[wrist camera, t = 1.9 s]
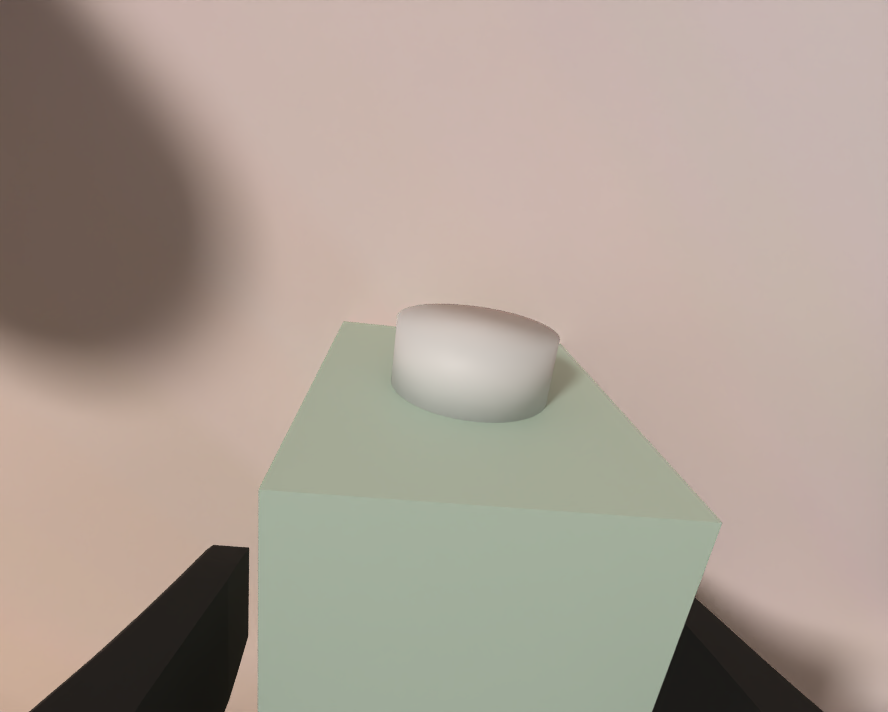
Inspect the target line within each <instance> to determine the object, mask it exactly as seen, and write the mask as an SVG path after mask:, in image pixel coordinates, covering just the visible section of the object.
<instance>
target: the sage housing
mask: <svg viewBox="0 0 888 712" xmlns="http://www.w3.org/2000/svg"><path fill="white" fill-rule="evenodd" d="M559 341H560V338H559V335H558V334H557V333H556V332H555V331H554V330H552V329H551V328H549V327H548V326H546V325H544V324H542V323H540V322H537V321H535V320H532V319H530V318H526V317H523V316H520V315H517V314H513V313H509V312H505V311H500V310H495V309H490V308H484V307H477V306H469V305H458V304H425V305H417V306H412V307H408V308H406V309H403V310H402V311H400V312H399V313H398V316H397V324H396V327H394V326H384V325H375V324H365V323H356V322H346V321H344V322H343V324H342V326H341V328H340V330H339V332H338V334H337V335H336V337H335V339H334V341H333V343H332V345H331V347H330V349H329V351H328V353H327V355H326V357H325V359H324V361H323V363H322V365H321V367H320V369H319V371H318V373H317V375H316V377H315V379H314V381H313V383H312V385H311V387H310V389H309V391H308V393H307V395H306V397H305V399H304V401H303V403H302V405H301V407H300V409H299V411H298V413H297V415H296V417H295V419H294V421H293V423H292V425H291V427H290V429H289V430H288V432H287V434H286V436H285V438H284V440H283V442H282V444H281V446H280V448H279V450H278V452H277V454H276V456H275V458H274V460H273V462H272V464H271V466H270V468H269V470H268V472H267V474H266V476H265V478H264V480H263V482H262V484H261V486H260V488H259V509H258V712H652V710H653V708H654V705H655V702H656V700H657V697H658V694H659V692H660V689H661V686H662V683H663V681H664V678H665V675H666V673H667V670H668V667H669V665H670V662H671V659H672V657H673V654H674V651H675V648H676V646H677V643H678V640H679V638H680V635H681V632H682V630H683V627H684V624H685V622H686V619H687V616H688V614H689V611H690V608H691V605H692V603H693V600H694V597H695V595H696V592H697V589H698V587H699V584H700V581H701V579H702V576H703V573H704V570H705V568H706V565H707V562H708V560H709V557H710V554H711V552H712V549H713V546H714V544H715V541H716V538H717V536H718V533H719V530H720V527H721V525H722V522H721V521H720V520H719V519H718V518H717V516H716V515H715V514H714V513H713V512H712V511H711V510H710V509H709V508H708V507H707V505H706V504H705V503H704V502H703V501H702V500H701V499H700V498H699V497H698V495H697V494H696V493H695V492H694V491H693V490H692V489H691V488H690V487H689V486H688V484H687V483H686V482H685V481H684V480H683V479H682V478H681V477H680V476H679V474H678V473H677V472H676V471H675V470H674V469H673V468H672V467H671V466H670V465H669V463H668V462H667V461H666V460H665V459H664V458H663V457H662V456H661V455H660V453H659V452H658V451H657V450H656V449H655V448H654V447H653V446H652V445H651V444H650V442H649V441H648V440H647V439H646V438H645V437H644V436H643V435H642V434H641V433H640V431H639V430H638V429H637V428H636V427H635V426H634V425H633V424H632V423H631V421H630V420H629V419H628V418H627V417H626V416H625V415H624V414H623V413H622V412H621V410H620V409H619V408H618V407H617V406H616V405H615V404H614V403H613V402H612V400H611V399H610V398H609V397H608V396H607V395H606V394H605V393H604V392H603V391H602V389H601V388H600V387H599V386H598V385H597V384H596V383H595V382H594V381H593V379H592V378H591V377H590V376H589V375H588V374H587V373H586V372H585V371H584V370H583V368H582V367H581V366H580V365H579V364H578V363H577V362H576V361H575V360H574V358H573V357H572V356H571V355H570V354H569V353H568V352H567V351H566V350H565V349H564V347H563V346H562V345H561V344H559Z"/></svg>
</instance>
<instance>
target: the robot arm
mask: <svg viewBox="0 0 888 712" xmlns="http://www.w3.org/2000/svg"><path fill="white" fill-rule="evenodd" d="M248 605H249V548H247V547H233V546H219V545H213V546H211V547H210V548H209V549H207V550H206V551H205V552H204V553H203V554H202V555H201V556H200V557H199V558H198V559H197V560H196V561H195V562H194V563H193V564H192V565H191V566H190V567H189V568H188V569H187V570H186V571H185V572H184V573H183V574H182V575H181V576H180V577H179V578H178V579H177V580H176V581H175V582H174V583H173V584H172V585H170V586H169V587H168V588H167V589H166V590H165V591H164V592H163V593H162V594H161V595H160V596H159V597H158V598H157V599H156V600H155V601H154V602H153V603H152V604H151V605H150V606H149V607H148V608H146V609H145V610H144V611H143V612H142V613H141V614H140V615H139V616H138V617H137V618H136V619H135V620H133V621H132V622H131V623H130V624H129V625H128V626H127V627H126V628H125V629H124V630H123V631H121V632H120V633H119V634H118V635H117V636H116V637H115V638H114V639H113V640H112V641H111V642H109V643H108V644H107V645H106V646H105V647H104V648H103V649H102V650H101V651H100V652H98V653H97V654H96V655H95V656H94V657H93V658H92V659H91V660H89V661H88V662H87V663H86V664H85V665H84V666H82V667H81V668H80V669H79V670H78V671H77V672H75V673H74V674H73V675H72V676H71V677H69V678H68V679H67V680H66V681H65V682H64V683H62V684H61V685H60V686H59V687H58V688H57V689H55V690H54V691H53V692H52V693H51V694H50V695H48V696H47V697H46V698H45V699H44V700H42V701H41V702H40V703H39V704H38V705H37V706H35V707H34V708H33V709H32V710H31V711H29V712H224V711H225V709H226V706H227V704H228V701H229V698H230V695H231V692H232V689H233V685H234V682H235V679H236V676H237V672H238V669H239V666H240V662H241V659H242V655H243V652H244V649H245V645H246V642H247V638H248ZM652 712H823V711H822V710H821V709H819V708H818V707H817V706H816V705H815V704H814V703H812V702H811V701H810V700H809V699H808V698H807V697H805V696H804V695H803V694H802V693H801V692H800V691H799V690H797V689H796V688H795V687H794V686H793V685H792V684H791V683H789V682H788V681H787V680H786V679H785V678H784V677H783V676H781V675H780V674H779V673H778V672H777V671H776V670H775V669H774V668H772V667H771V666H770V665H769V664H768V663H767V662H766V661H765V660H763V659H762V658H761V657H760V656H759V655H758V654H757V653H756V652H754V651H753V650H752V649H751V648H750V647H749V646H748V645H747V644H746V643H744V642H743V641H742V640H741V639H740V638H739V637H738V636H737V635H736V634H735V633H733V632H732V631H731V630H730V629H729V628H728V627H727V626H726V625H725V624H724V623H722V622H721V621H720V620H719V619H718V618H717V617H716V616H715V615H714V614H712V613H711V612H710V611H709V610H708V609H707V608H706V607H705V606H704V605H702V604H701V603H700V602H699V601H698V600H697V599H696V598H695V597H694V600H693V603H692V605H691V608H690V611H689V614H688V616H687V619H686V622H685V624H684V627H683V630H682V632H681V635H680V638H679V640H678V643H677V646H676V648H675V651H674V654H673V657H672V659H671V662H670V665H669V667H668V670H667V673H666V675H665V678H664V681H663V683H662V686H661V689H660V692H659V694H658V697H657V700H656V702H655V705H654V708H653V710H652Z"/></svg>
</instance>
